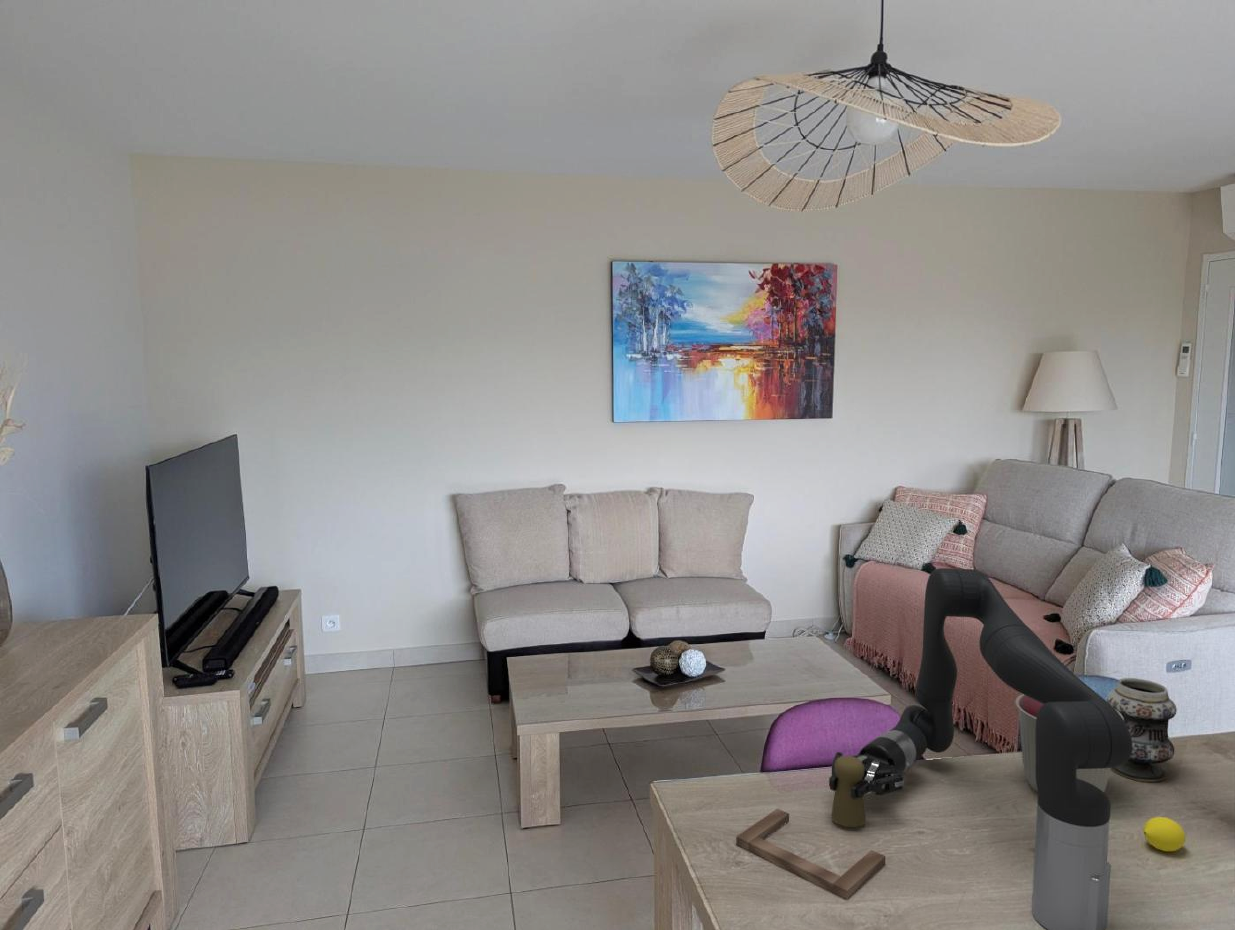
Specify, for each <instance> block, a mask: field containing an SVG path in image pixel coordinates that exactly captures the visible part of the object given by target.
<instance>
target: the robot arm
mask: <svg viewBox="0 0 1235 930" xmlns="http://www.w3.org/2000/svg"><path fill="white" fill-rule="evenodd" d="M927 578H928V579H927V583H926V586H925V587H926V588H925V592H924V593H925V594H924V596H925V597H924V611H923V635H922V653H921V661H920V667H919V671H918V676H917V682H916V685H915V686H916V687H915V691H914V695H915V696H914V697H915V699H916V701H917V702H918V704H919V705H921V706H919V705H915V704H914V705H908V706H907V707H906V708H904V710H903V711H902V713H901V715H900V718H899V720H898V722H897V724H895V726H894V727H893V728H892V729H890V730H889V731H887V732H883V733H882V734H880V735H879V736H878V737H876V738H874V739H872V740H871V741H869V742H868V743H866V745H864V746H863V747H862V748H861V750H860V751H859V753H858V754H856V755H851V756H852V757H856V758H858V759H859V760H861V762H862V763H863V765H864V776H863V778H862V779H861V780H860V781H859V782H858V783H856V784H855V785H854V786H852V788H851V798H853V799H855V800H856V799H857V798H861V797H863V798H864V796H865V795H866V794H868V795H869V794H872V793H874V794H875V795H876V796H877V797H881V796H884V795H888V794H892V793H895V792H899V791H901V790H903V789H904V775H903V773H904V772H906V771H907V770H908V769H909V768H910V767H911V766H912V764H913V763H915V762H916V761H917V760H919V759H920V758H921V757H922V756H923V755H924V754H925V752H926V751H927V749H928V750H930V751H932V752H933V753H937V754H939V753H943V752H946V751H947V750H948V749H949V748H950V746H951V745H952V743H953V740H954V736H955V724H954V717H953V716H954V715H953V704H952V702H953V697H954V693H955V688H956V684H957V679H958V667H957V662H956V659H955V656H954V654H953V652H952V651H951V648H950V646H949V644H948V641H947V639H946V636H945V632H944V631H945V630H944V629H945V628H944V627H945V623H946V618H947V617H953V618H954V617H956V618H957V617H959V618H973V619H975V620H978V621H979V622H980V623H981V624H982V625H983V626H982V629H981V633H980V636H979V642H978V643H979V650H980V654H981V655H982V658H983V659H984V661H985V662H986V663H987V665H988V666H989V667H990V668H991V670H992V671H993V673H994V674H995V675H996V676H997V677H998V678H999V679H1000V680H1001V681H1002V682H1003V683H1005V685H1007V686H1008V687H1010V688H1012V689H1013V690H1015V691H1017V692H1019V693H1020V694H1021V695H1022V694H1024V695H1026V696H1028V697H1030V698H1032V699H1034V700H1036V701H1039V702H1041V703H1043V705H1042V706H1041V708H1040V709H1039V711H1038V714H1037V718H1036V726H1035V749H1036V763H1035V776H1036V784H1037V790H1038V792H1037V801H1036V802H1037V804H1036V805H1037V807H1036V823H1035V837H1034V838H1035V840H1034V841H1035V843H1034V855H1033V857H1034V860H1033V873H1032V874H1033V876H1032V878H1033V879H1032V894H1031V913H1032V916H1033V918H1034V919H1035V920H1036V921H1037V923H1039V924H1040V925H1041V926H1042V927H1044V928H1045V929H1047V930H1105V929H1106V926H1107V925H1108V914H1109V913H1108V911H1109V901H1110V900H1109V899H1110V897H1109V896H1110V885H1111V871H1112V867H1111V866H1112V865H1111V863H1110V862H1108V853H1109V836H1110V833H1109V832H1110V823H1111V822H1110V820H1111V810H1112V809H1111V806H1112V805H1111V800H1110V798H1109V796H1108V794H1106V793H1105V792H1103V791H1102V790H1100V789H1099V788H1097V787H1096V786H1094V785H1092V784H1090V783H1088V782H1086V781H1083V780H1080V779H1077V777H1076V771H1077V769H1101V768H1112V767H1117V766H1121V765H1123V764H1124V763H1126V762H1127V761H1128V760H1129V759H1130V757H1131V754H1132V749H1133V745H1132V738H1131V735H1130V732H1129V730H1128V727H1127V725H1126V724H1125V722H1124V720H1123V719H1122V717H1121V716H1120V715H1119V713H1118V712H1117V711H1116V710H1115V709H1114V708H1113V707H1112V706H1111V705H1110V704H1109V703H1108V702H1107V699H1105V698H1103V697H1102V696H1101V695H1100V694H1099V693H1097V692H1096V691H1095V690H1094V689H1093V688H1091V687H1090V686H1089V685H1087V684H1086V683H1085V682H1084V681H1082V680H1081V679H1080V678H1079V677H1078V676H1077V675H1076V674H1074V673H1073V672H1072V671H1071V670H1070V668H1068V667H1067V666H1066V664H1064V663H1063V662H1062V661H1061V660H1060V659H1059V658H1058V657H1057V656H1056V655H1055V654H1054V653H1053V652H1052V651H1051V650H1050V649H1049V647H1048V646H1047V645H1046V644H1045V642H1044V641H1042V639H1041V638H1040V637H1039V636H1038V635H1037V634H1036V633H1035V632H1034V631H1033V630H1032V629H1031V628H1030V627H1029V626H1028V625H1027V624H1026V623H1025V622H1024V621H1023V620H1022V619H1021V618H1020V616H1018V615H1017V613H1016V612H1015V611H1014V610H1013V608H1011V607H1010V605H1009V604H1008V603H1007V601H1005V599H1004V597H1003V596H1002V595H1001V593H1000V592H999V590H998V589H997V588H996V586H995V585H994V583H993V582H992V581H991V579H990V578H989V577H988V576H987V575H986V574H985V573H983V572H982V571H980V570H976V569H970V568H952V567H951V568H949V567H948V568H943V567H942V568H941V567H940V568H936V569H934V570H932V571H931V573H930V574H929V576H928V577H927ZM834 755H835V756H834V757H833V760H832V764H831V776H830V777H829V778H828V782H829V784H828V786H829V790H830V791H833V792H835V790H836V789H837V780H838V777H837V775H836V773H835V770H834V765H835V762H836V760H837V759H838V758H839V757H842V756H844V755H843V752H840V751H838V752H836V753H835V754H834ZM883 785H884V787H883Z"/></svg>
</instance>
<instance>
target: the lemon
mask: <svg viewBox="0 0 1235 930" xmlns="http://www.w3.org/2000/svg"><path fill="white" fill-rule="evenodd" d="M1143 836H1144V838H1145V840H1147V842H1148V843H1149V845H1151V846H1153V847H1154V848H1155V849H1156V850H1159V851H1163V852H1167V853H1168V852H1176V851H1177V850H1180V849H1182V847H1183V846H1184V845H1185V843H1186V833H1185V832H1184V830H1183V828H1182V826H1181V825H1180V824H1179V823H1178V822H1177V821H1175V820H1173V819H1170V818H1169V817H1167V816H1166V817H1164V816H1155V817H1151V818H1149V819H1147V821H1146V822H1145V823H1144V826H1143Z"/></svg>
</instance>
